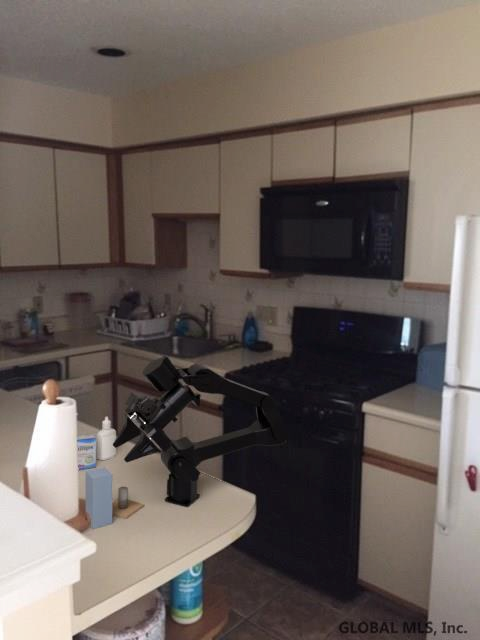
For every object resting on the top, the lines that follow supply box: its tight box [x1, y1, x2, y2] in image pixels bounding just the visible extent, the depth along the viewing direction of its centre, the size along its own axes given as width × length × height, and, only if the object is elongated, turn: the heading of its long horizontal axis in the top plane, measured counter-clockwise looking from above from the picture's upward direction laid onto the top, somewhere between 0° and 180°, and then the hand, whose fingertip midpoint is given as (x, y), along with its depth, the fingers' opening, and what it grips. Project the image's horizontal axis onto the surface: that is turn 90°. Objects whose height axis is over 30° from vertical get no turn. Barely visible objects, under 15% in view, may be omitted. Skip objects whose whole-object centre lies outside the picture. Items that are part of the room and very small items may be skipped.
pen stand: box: [112, 486, 145, 520], centre depth 132 cm, size 7×7×5 cm
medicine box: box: [76, 432, 97, 471], centre depth 154 cm, size 8×4×9 cm, turn 117°
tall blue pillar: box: [84, 467, 113, 530], centre depth 125 cm, size 4×4×12 cm
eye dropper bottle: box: [96, 416, 117, 461], centre depth 161 cm, size 4×6×12 cm
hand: (119, 453), depth 129 cm, fingers open, 9 cm apart
